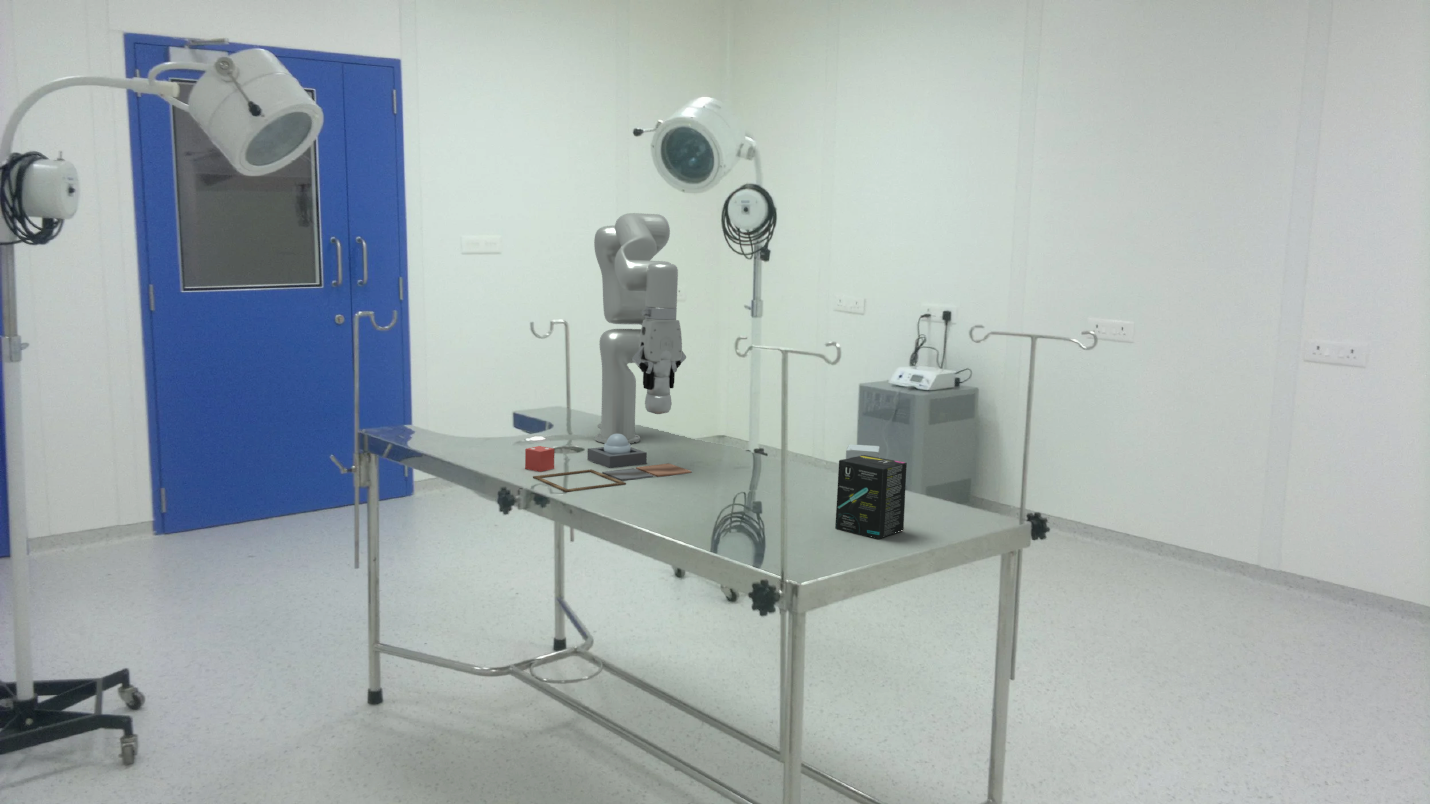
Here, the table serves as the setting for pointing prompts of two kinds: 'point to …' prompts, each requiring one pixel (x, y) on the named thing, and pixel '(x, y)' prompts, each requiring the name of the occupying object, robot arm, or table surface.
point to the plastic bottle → (660, 386)
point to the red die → (539, 458)
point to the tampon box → (871, 496)
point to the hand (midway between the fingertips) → (658, 387)
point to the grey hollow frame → (617, 458)
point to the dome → (617, 444)
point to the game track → (620, 475)
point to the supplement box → (862, 450)
